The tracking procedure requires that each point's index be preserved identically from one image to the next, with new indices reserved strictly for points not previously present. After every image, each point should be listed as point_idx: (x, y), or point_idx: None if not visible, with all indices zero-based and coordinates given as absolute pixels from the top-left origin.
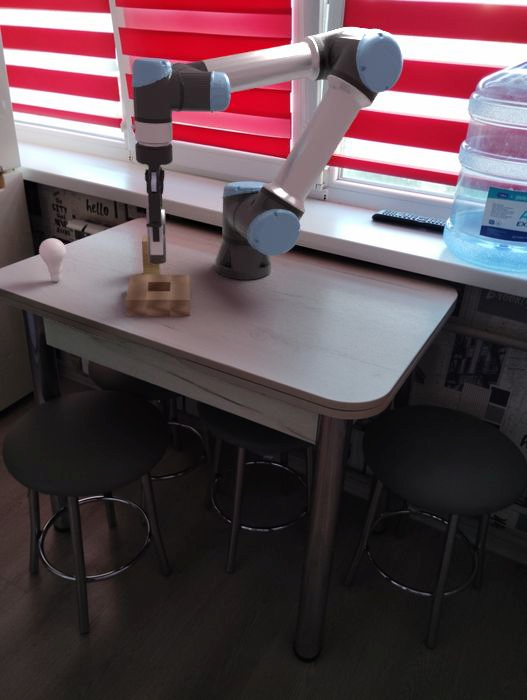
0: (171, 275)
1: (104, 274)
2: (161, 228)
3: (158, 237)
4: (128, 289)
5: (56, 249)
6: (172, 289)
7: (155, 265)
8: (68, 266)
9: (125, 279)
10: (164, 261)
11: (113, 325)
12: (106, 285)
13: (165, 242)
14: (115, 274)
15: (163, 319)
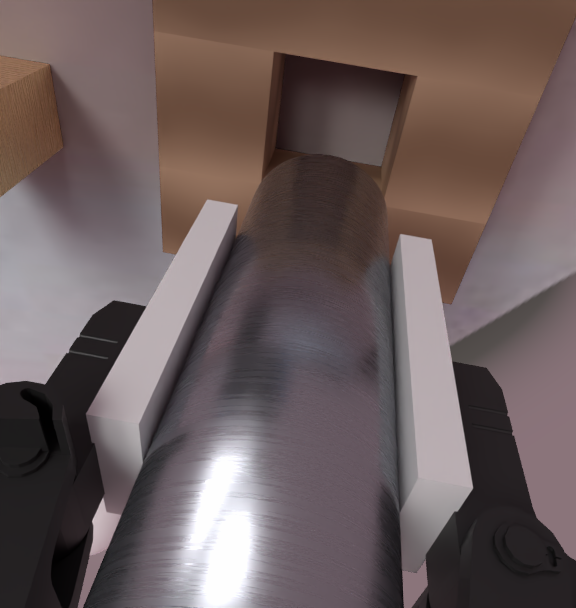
0: (167, 29)
1: (48, 289)
2: (461, 466)
3: (504, 420)
4: None
5: (110, 521)
6: (394, 56)
7: (10, 109)
8: (7, 376)
9: (83, 223)
10: (369, 180)
11: (507, 307)
12: (150, 293)
13: (335, 251)
14: (39, 254)
15: (543, 109)
